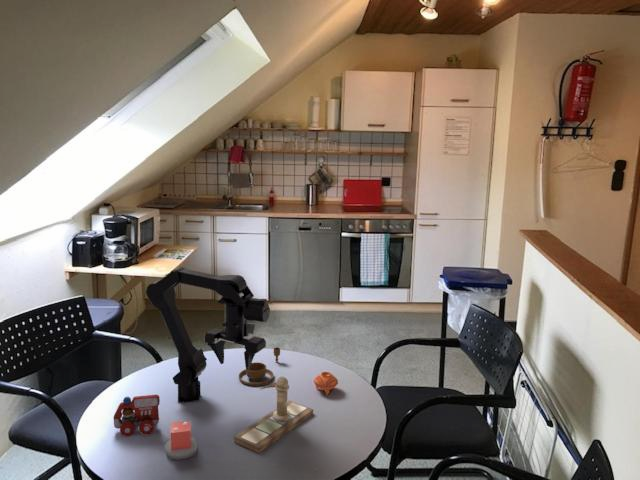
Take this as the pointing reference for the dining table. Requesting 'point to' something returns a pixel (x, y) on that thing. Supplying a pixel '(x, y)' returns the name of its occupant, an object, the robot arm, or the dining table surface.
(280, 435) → the game board
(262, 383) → the place setting
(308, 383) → the dining table surface
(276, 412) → the pawn
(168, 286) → the robot arm
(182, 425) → the orange cube on disc
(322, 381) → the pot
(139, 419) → the toy fire truck
